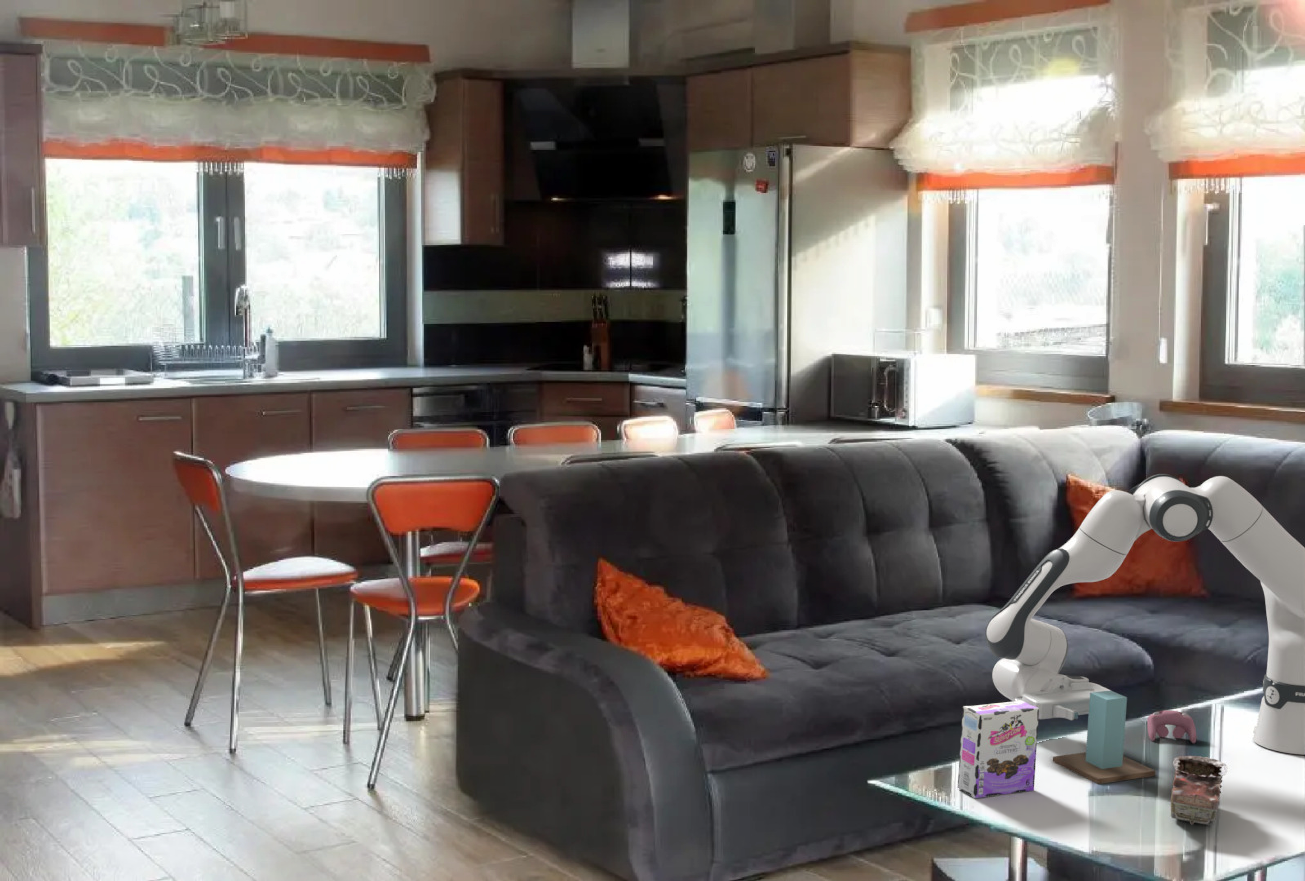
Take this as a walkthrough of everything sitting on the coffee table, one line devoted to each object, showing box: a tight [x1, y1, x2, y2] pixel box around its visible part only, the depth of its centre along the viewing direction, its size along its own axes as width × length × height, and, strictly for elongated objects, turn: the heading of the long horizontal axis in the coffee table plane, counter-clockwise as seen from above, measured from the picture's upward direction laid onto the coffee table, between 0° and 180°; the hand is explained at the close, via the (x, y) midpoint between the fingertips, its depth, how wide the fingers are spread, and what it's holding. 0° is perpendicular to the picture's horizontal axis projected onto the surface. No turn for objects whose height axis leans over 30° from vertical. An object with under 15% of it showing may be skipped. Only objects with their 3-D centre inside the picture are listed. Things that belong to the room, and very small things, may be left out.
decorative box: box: [1170, 755, 1228, 826], centre depth 304 cm, size 13×20×10 cm, turn 153°
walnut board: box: [1051, 751, 1156, 785], centre depth 332 cm, size 14×14×1 cm
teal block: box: [1085, 690, 1128, 769], centre depth 331 cm, size 5×5×14 cm
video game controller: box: [1146, 709, 1197, 744], centre depth 353 cm, size 10×5×7 cm, turn 84°
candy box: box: [957, 700, 1039, 799], centre depth 317 cm, size 14×6×16 cm, turn 114°
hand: (1094, 713), depth 334 cm, fingers open, 8 cm apart
